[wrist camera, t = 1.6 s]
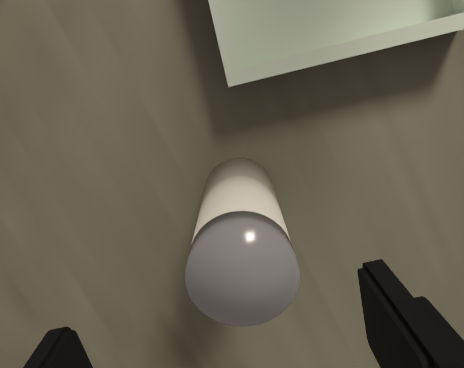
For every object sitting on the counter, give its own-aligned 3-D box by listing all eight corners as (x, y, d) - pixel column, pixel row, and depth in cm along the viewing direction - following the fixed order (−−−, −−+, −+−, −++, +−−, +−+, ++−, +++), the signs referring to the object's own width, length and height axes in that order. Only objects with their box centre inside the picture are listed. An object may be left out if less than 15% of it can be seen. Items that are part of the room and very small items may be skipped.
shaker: (264, 151, 23) (288, 215, 13) (278, 213, 25) (308, 315, 15) (197, 166, 24) (170, 241, 13) (214, 227, 25) (201, 335, 15)
